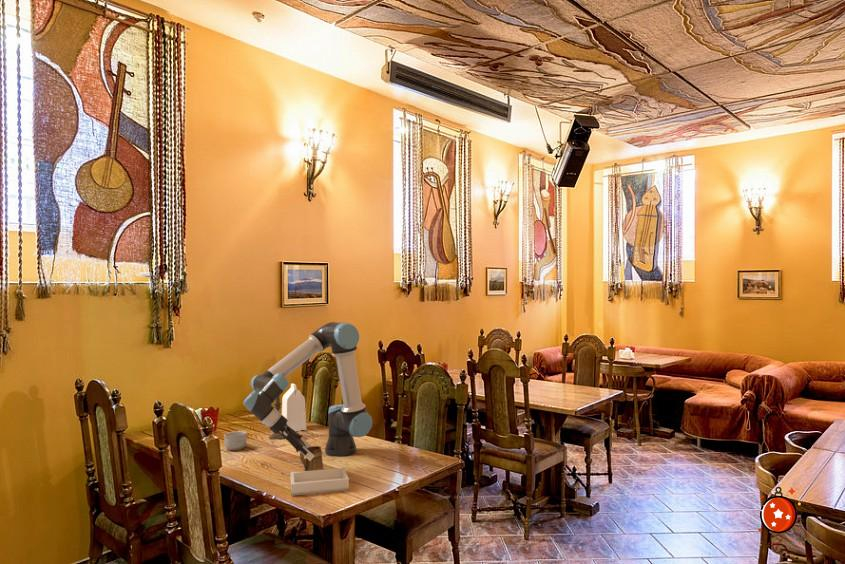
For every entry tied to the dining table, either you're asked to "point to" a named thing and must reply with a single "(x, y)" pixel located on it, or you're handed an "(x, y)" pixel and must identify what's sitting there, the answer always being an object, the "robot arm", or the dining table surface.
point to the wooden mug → (316, 461)
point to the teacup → (235, 440)
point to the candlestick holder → (279, 435)
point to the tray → (319, 481)
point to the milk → (294, 409)
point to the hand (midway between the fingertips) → (311, 454)
